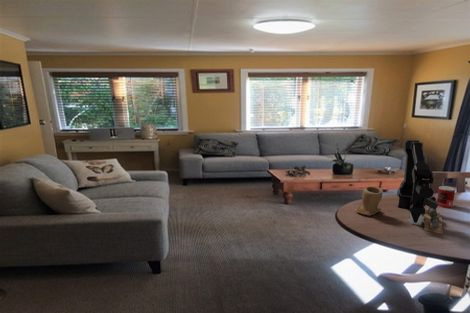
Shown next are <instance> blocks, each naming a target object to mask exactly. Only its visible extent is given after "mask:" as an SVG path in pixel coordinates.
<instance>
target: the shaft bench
mask: <svg viewBox="0 0 470 313" xmlns="http://www.w3.org/2000/svg"><path fill="white" fill-rule="evenodd" d="M427 208H428V209H427V210H425V215H423V225H424V226H423V227H424V228H423V229H424V231H425V232H429V233H435V234H440V235H444V229H443V218H442V217H441V213H440V212H437V209H436V210H434V209H432V208H431V207H429V206H427Z"/></svg>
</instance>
